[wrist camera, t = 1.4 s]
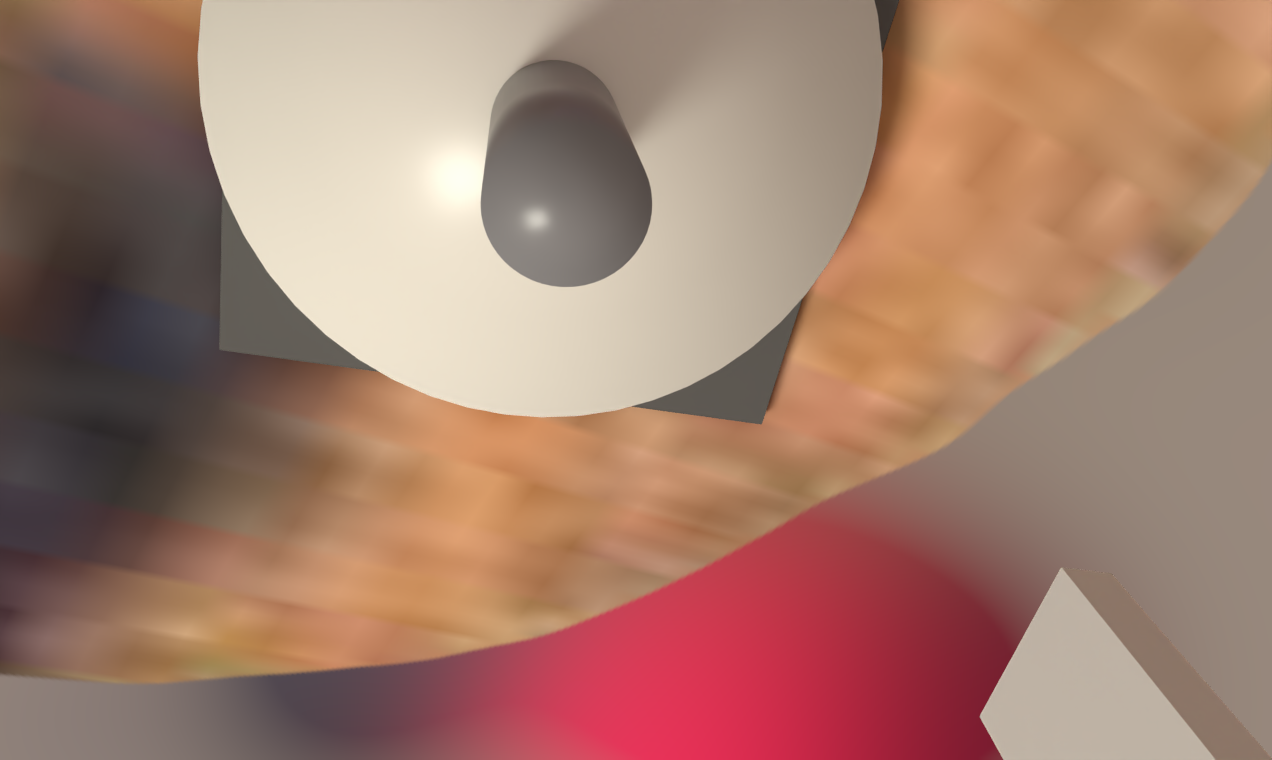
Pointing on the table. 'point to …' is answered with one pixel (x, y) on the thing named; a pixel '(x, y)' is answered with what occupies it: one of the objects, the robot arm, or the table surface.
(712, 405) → the mat
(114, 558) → the table surface
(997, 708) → the robot arm
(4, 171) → the table surface
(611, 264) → the lid
